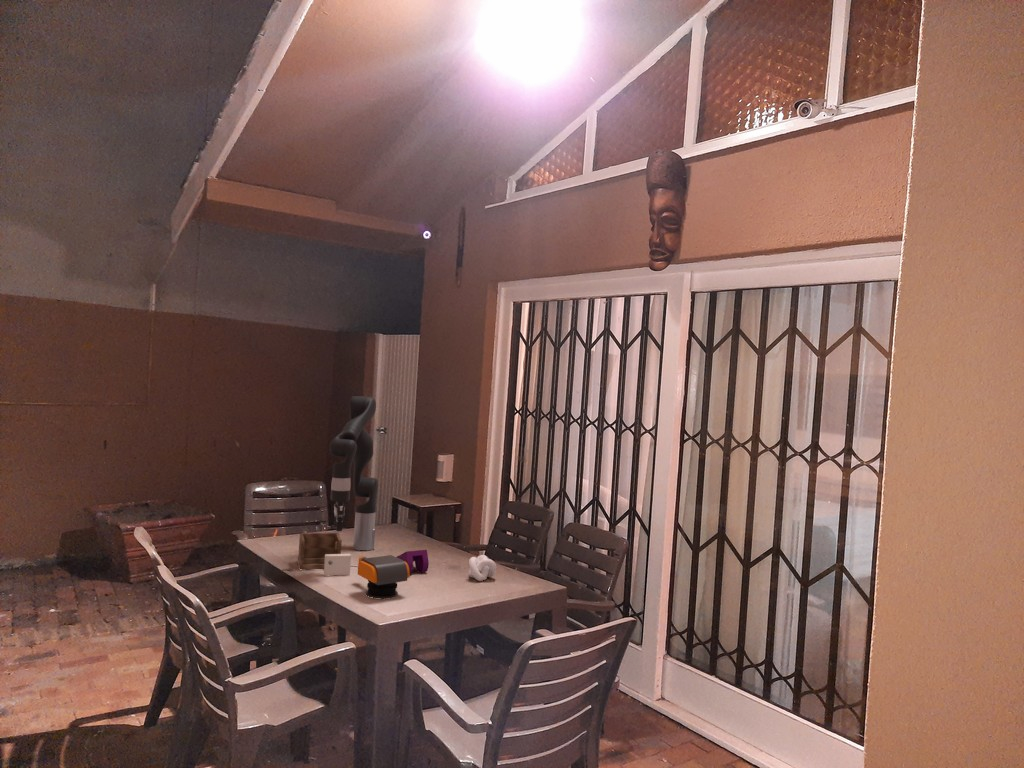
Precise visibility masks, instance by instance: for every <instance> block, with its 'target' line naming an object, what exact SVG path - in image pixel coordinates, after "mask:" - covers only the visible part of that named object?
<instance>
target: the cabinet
mask: <svg viewBox="0 0 1024 768" xmlns="http://www.w3.org/2000/svg"><path fill="white" fill-rule="evenodd" d="M298 542H299V544H298V555H297V557H298V560H297V563H298V562H299V563H298V568H300V569H324V561H325V554H342V542H343V541H342V537H341V535H340V533H339V532H300V533H299V541H298Z"/></svg>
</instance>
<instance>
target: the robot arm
mask: <svg viewBox="0 0 1024 768" xmlns="http://www.w3.org/2000/svg"><path fill="white" fill-rule="evenodd" d="M348 407H349V408H348V410H349V418H350V420H349V421H348V422H346V424H345V425H344V427H343V429H342V430H341V432H340V433H339V434H337V435H336V436H335V437H334V438H333V439H331V442H330V444H329V453H330V454H331V455H332V456H335V457H343V458H345V459H344V461H340V462H338V461H337V462H335V463H334V464H333V466H332V479H331V484H330V485H331V487H330V488H331V489H330V501H332V502H334V504H333V508H334V509H333V514H334V527H335V529H336V532H343V523H344V520H345V509H346V505H345V504H344V503H345V502H349V501H350V500H351V499H350V498H351V497H350V496H351V471H352V465H353V493H354V496H355V497H357V498H368V500H367V501H366V502H363V503H359V504H357V505H356V506H355V513H354V514H355V515H354V517H355V518H354V531H353V548H354V549H353V550H355V549H356V551H360V550H367V551H372V550H373V549H374V550H375V541H376V514H377V513H376V512H377V511H376V509H377V498H378V490H379V489H378V488H379V481H378V479H377V477H376V478H375V477H368V476H367V477H366V476H365V477H364V476H362V474H363V471H364V470H365V468H366V466H367V465H368V464H369V463H370V462H371V459H372V458H373V456H374V441H373V439H372V437H371V435H370V434H369V433H368V431H367V430H366V429H365V427H366V426H367V424H368V423H369V422H370V420H371V419H372V418H373V417H374V416H375V414H376V411H377V401H376V399H375V398H373V397H371V396H361V395H356V396H355V395H354V396H351V397H350V400H349V405H348ZM374 550H373V551H374Z"/></svg>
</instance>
